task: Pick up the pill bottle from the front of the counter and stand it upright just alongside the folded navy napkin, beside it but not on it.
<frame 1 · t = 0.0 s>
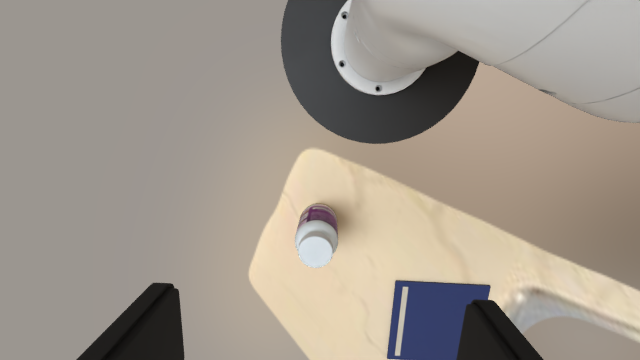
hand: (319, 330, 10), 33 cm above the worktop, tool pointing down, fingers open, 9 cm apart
pill bottle: (318, 220, 44), on the worktop
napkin: (436, 322, 47), on the worktop
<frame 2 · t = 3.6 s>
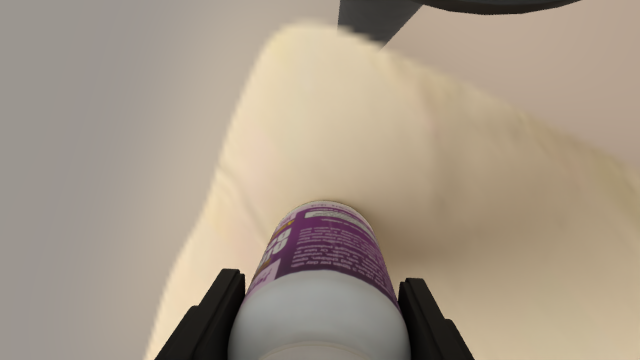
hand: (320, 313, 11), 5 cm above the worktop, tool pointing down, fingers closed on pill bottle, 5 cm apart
pill bottle: (323, 246, 16), on the worktop, touching gripper
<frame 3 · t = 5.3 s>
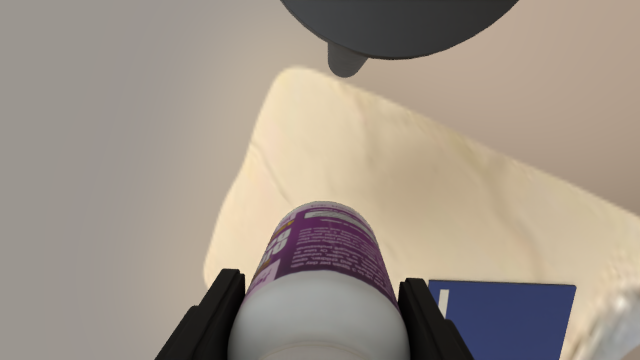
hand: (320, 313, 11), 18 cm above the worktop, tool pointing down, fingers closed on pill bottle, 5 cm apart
pill bottle: (323, 247, 16), point 13 cm above the worktop, touching gripper
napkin: (490, 343, 31), on the worktop
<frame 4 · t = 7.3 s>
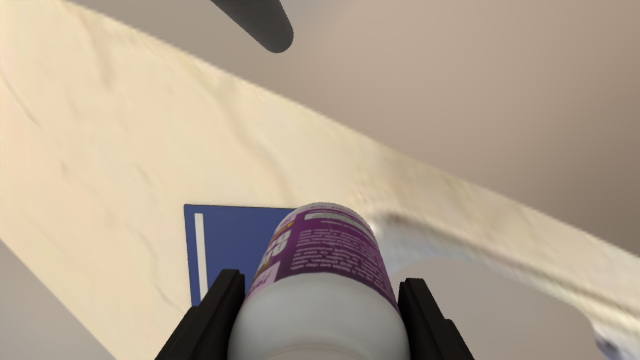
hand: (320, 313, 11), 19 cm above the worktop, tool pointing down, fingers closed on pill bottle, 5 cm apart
pill bottle: (322, 248, 16), point 14 cm above the worktop, touching gripper
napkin: (255, 270, 32), on the worktop
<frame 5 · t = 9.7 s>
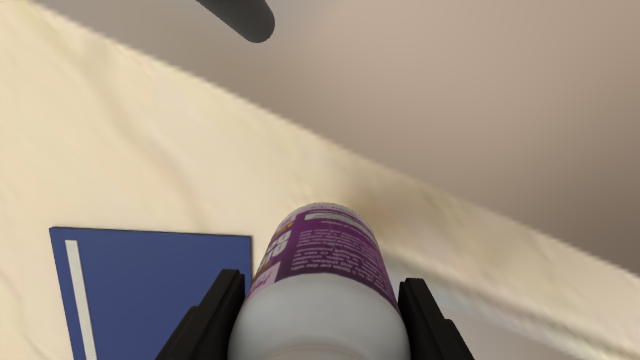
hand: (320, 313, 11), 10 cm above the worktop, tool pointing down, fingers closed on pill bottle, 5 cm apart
pill bottle: (323, 248, 16), point 5 cm above the worktop, touching gripper
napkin: (160, 317, 23), on the worktop
when the fingers open (5 cm above the worktop, at t = 11.4 s): pill bottle stays where it is, on the worktop.
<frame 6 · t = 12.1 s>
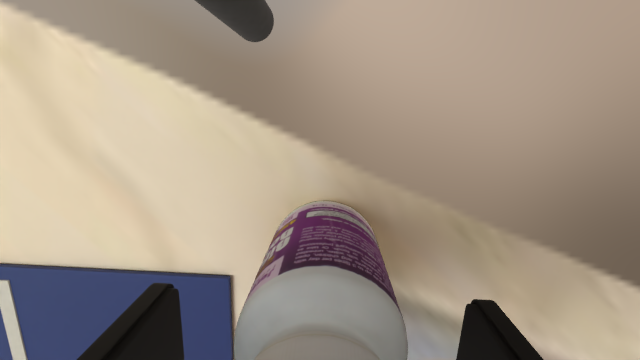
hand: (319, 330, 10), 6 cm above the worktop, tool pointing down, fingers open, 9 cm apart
pill bottle: (323, 245, 16), on the worktop
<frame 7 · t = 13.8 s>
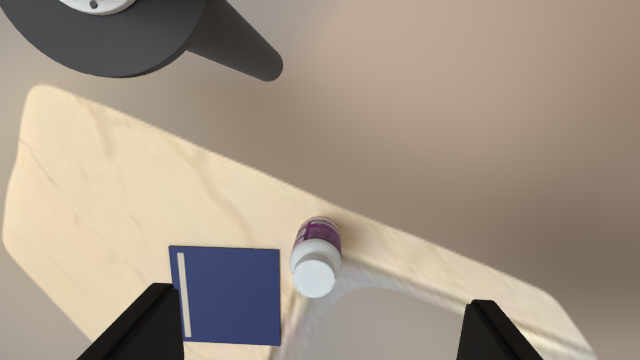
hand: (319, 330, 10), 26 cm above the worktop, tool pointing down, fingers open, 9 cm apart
pill bottle: (318, 235, 38), on the worktop
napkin: (226, 296, 40), on the worktop
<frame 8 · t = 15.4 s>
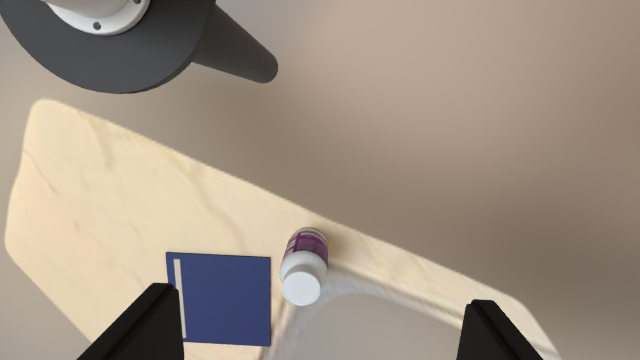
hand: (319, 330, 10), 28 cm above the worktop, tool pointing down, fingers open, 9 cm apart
pill bottle: (307, 245, 40), on the worktop
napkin: (220, 300, 42), on the worktop
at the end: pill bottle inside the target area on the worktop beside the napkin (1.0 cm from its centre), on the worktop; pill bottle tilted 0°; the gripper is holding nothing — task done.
